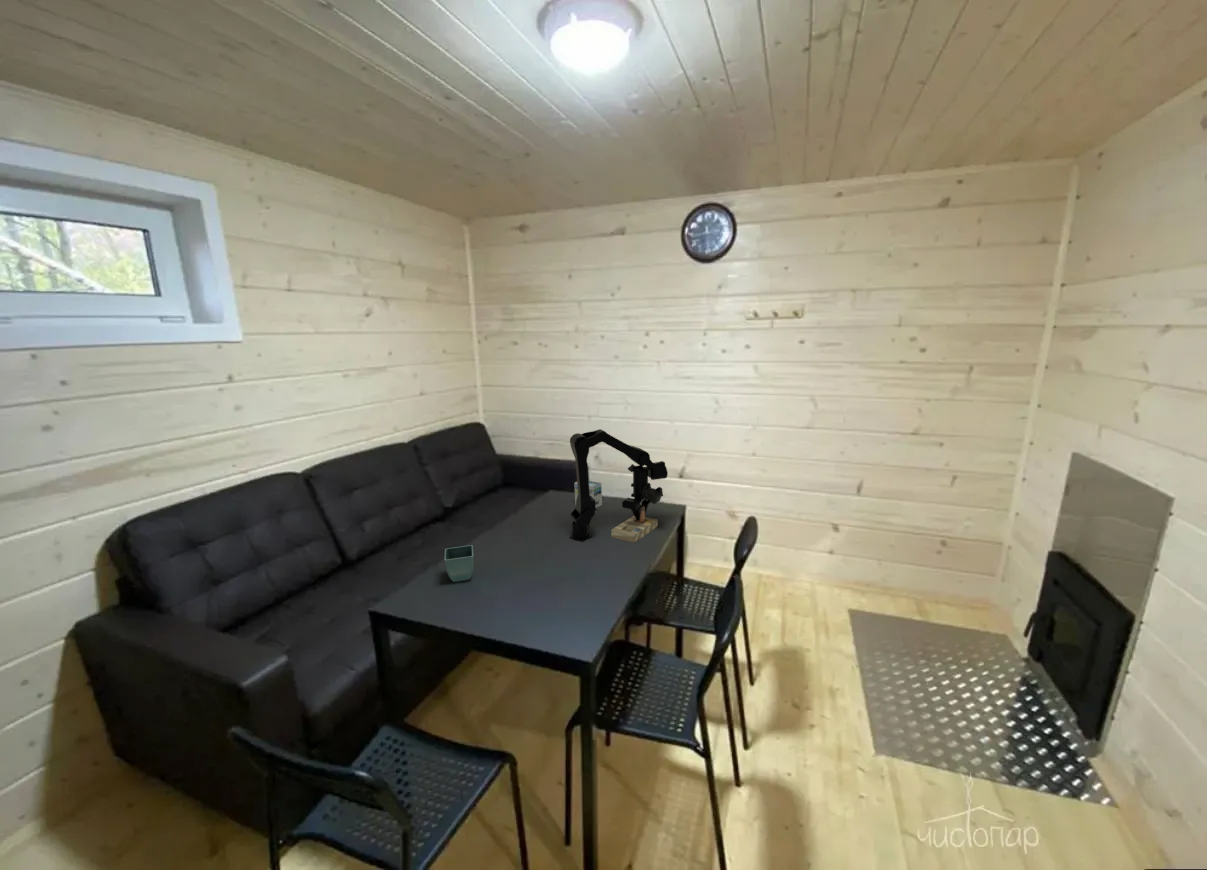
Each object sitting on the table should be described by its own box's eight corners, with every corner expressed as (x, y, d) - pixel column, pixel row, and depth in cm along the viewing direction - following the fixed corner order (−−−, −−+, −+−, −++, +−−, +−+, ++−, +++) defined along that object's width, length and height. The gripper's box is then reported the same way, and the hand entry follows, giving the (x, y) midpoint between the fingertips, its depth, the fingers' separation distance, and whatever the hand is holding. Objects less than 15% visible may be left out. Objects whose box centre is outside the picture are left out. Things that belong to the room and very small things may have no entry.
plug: (642, 530, 199) (642, 508, 197) (634, 528, 200) (634, 507, 199) (646, 527, 201) (646, 506, 199) (639, 525, 203) (639, 504, 201)
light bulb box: (602, 504, 228) (602, 481, 225) (594, 509, 222) (593, 486, 220) (583, 501, 233) (582, 478, 231) (574, 505, 228) (573, 482, 225)
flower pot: (446, 586, 159) (444, 560, 157) (447, 573, 167) (444, 548, 165) (475, 582, 161) (473, 556, 159) (474, 569, 169) (472, 544, 167)
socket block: (634, 542, 187) (634, 534, 187) (611, 537, 193) (611, 529, 192) (657, 526, 202) (657, 518, 201) (635, 521, 207) (635, 514, 207)
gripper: (646, 491, 185) (646, 531, 188) (670, 478, 200) (669, 515, 203) (620, 486, 191) (621, 525, 194) (645, 473, 206) (645, 510, 209)
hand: (640, 519), depth 200 cm, fingers open, 4 cm apart
